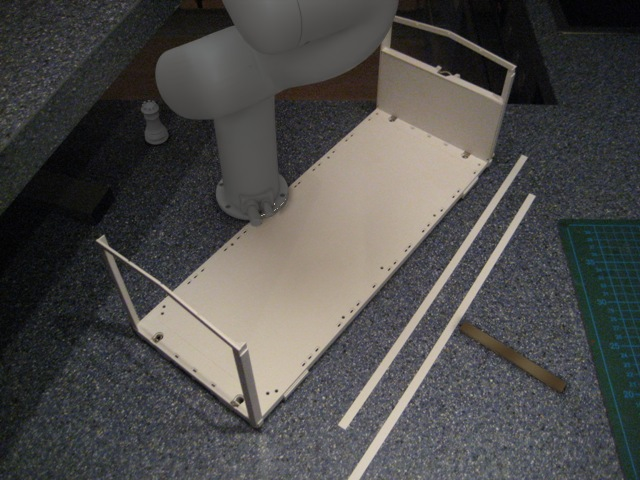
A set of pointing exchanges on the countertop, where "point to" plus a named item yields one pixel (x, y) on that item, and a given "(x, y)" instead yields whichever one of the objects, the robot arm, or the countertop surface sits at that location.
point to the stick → (513, 357)
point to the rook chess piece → (153, 124)
